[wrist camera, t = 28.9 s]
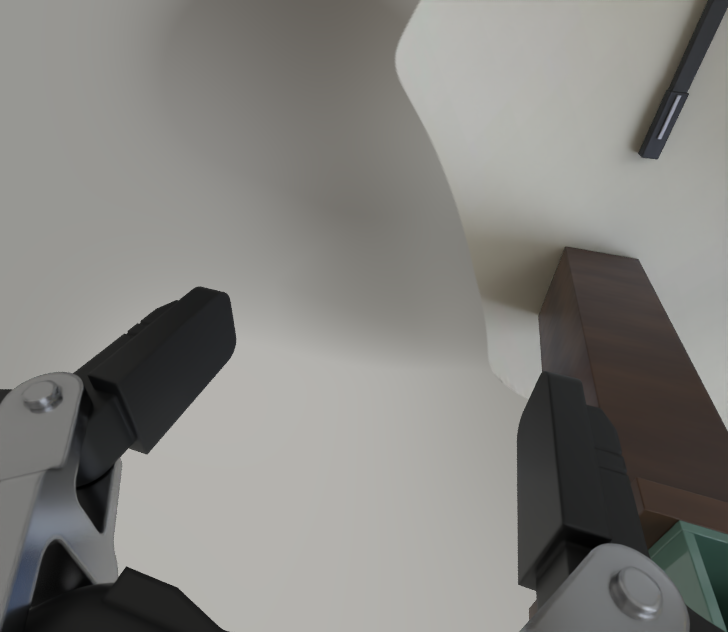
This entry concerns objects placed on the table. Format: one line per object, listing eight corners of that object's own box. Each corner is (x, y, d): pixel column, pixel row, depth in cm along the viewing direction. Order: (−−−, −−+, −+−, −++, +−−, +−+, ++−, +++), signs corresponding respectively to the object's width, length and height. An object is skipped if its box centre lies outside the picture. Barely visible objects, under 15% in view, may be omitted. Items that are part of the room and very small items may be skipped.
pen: (654, 156, 35) (658, 160, 34) (637, 153, 36) (641, 158, 34) (829, -218, 23) (845, -231, 22) (802, -216, 23) (817, -229, 22)
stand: (598, 350, 47) (682, 693, 23) (524, 334, 49) (529, 635, 25) (661, 232, 38) (909, 587, 14) (568, 217, 40) (644, 509, 16)
